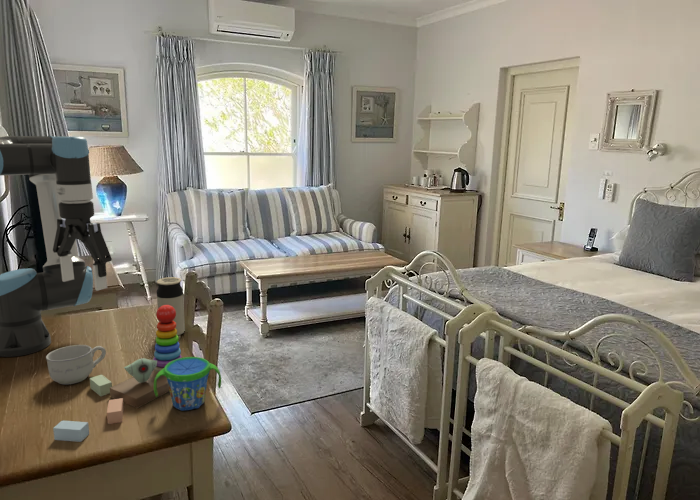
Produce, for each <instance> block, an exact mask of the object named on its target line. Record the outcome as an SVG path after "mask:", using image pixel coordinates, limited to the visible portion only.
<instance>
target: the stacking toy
mask: <svg viewBox="0 0 700 500" xmlns="http://www.w3.org/2000/svg"><path fill="white" fill-rule="evenodd" d="M155 316H156V318H157V320H158V323H157V325H156V329H157V330H156V331H155V335H156V337H155V342H156V343H155V345H154V352H153V356H154V357H153V359H152V360H157V366H156V367H155V368H154V370H153V371H156V372H159V371H161V370H162V369H164V368H165V366H166V365H167V364H168V363H169V362H171V361H173V360H176V359H179V358H183V357H182V355H181V354H182V351H181V348H180V342H179V339H180V338H179V335H178V336H177V335H176V334H177V330H176V329H175V328H176V322H174V321H173V320H174V319H175V317H176V311H175V309H174V308H173V307H172V306H170V305H163V306H161V307H160V308H159V309H158V308H157V310H156V315H155ZM159 321H160V322H159Z"/></svg>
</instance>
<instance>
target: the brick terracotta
mask: <svg viewBox="0 0 700 500" xmlns="http://www.w3.org/2000/svg"><path fill="white" fill-rule="evenodd" d="M124 409H125V406H124V402H123V398H120V399H114V398H112V399H108V405H107V409H106V417H107V419H106V420H107V425H113V424H118V423H122V422H123V419H124Z"/></svg>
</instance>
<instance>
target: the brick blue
mask: <svg viewBox="0 0 700 500" xmlns="http://www.w3.org/2000/svg"><path fill="white" fill-rule="evenodd" d="M52 430H53V438H54V440H55V441H63V442H64V441H65V442H78V443H79V442H80V443H81V442H82V441H84V439H86V438H87V436H89V435H90V426H89V422H88V421H78V420H77V421H76V420H75V421H73V420H61V421H59V422H58V423H57V424H56V425H55V426H54V427H53V428H52Z"/></svg>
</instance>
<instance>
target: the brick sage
mask: <svg viewBox="0 0 700 500" xmlns="http://www.w3.org/2000/svg"><path fill="white" fill-rule="evenodd" d="M89 385H90V386H89V387H90V389H91V390H92V391H93V392H95V393H96V394H97V395H98V396H100V397H103V396H106V395H108V394H109V395H110V387H113V383H112V381H111V380H109V379H108V378H107V377H106V376H105V375H103V374H99V375H96V376H93V377H90V378H89Z"/></svg>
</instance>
